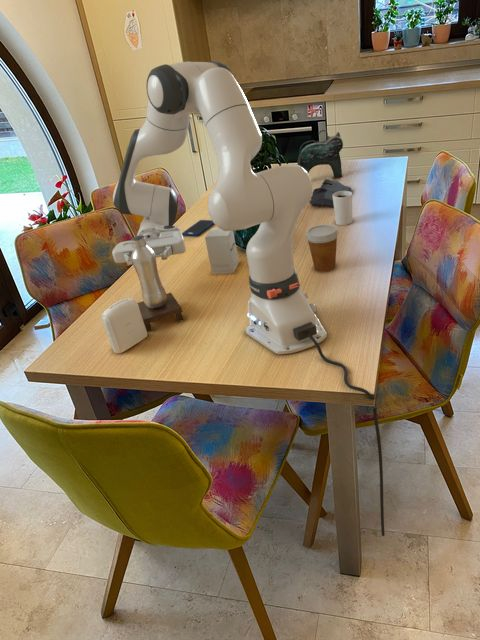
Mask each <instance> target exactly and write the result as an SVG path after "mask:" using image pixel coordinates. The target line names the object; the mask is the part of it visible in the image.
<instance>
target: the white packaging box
mask: <svg viewBox="0 0 480 640" xmlns="http://www.w3.org/2000/svg"><path fill="white" fill-rule="evenodd" d="M204 240H205V244H206V250H207V254H208V259H209V265H210V270H211V274H212V275H226V274H228V275H229V274H234V273H235V271H236V269H237V268H238V265H239V264H240V262H239V256H238V252H237V251H238V250H237V245H236V239H235V233H234V231H223V230H221V229H220V228H218V227H214V228H213V227H212V228H209V231H208V232H207V234H206V236H205V237H204Z"/></svg>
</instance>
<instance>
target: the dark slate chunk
mask: <svg viewBox="0 0 480 640" xmlns="http://www.w3.org/2000/svg"><path fill="white" fill-rule="evenodd" d="M339 191H350V192H352V188H351V186H348V185H344V184H342V182H339V181H338V180H332V179H329V178H325V179H324V180H323V182H322V184H321V185H320V187H317V188H314V189H313V190H312V196H311V199H310V201H309V203H310V205H311V206H312V207H330V208H331V207H333V208H334V204H333V194H334V193H336V192H339Z"/></svg>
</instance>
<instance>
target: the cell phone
mask: <svg viewBox="0 0 480 640" xmlns="http://www.w3.org/2000/svg"><path fill="white" fill-rule="evenodd" d="M214 225H215V224H214V222H213V221H212V219H200V220H198V221H197V222H196V223H194V224H193V225H191V226H189V228H187V229H185V230H184V231H183V232H181V233H182V235H183V237H186V236H187V237H199V236H201V235H202V234H204V233H205V232H206V231H207V230H209V229H211V227H213V226H214Z"/></svg>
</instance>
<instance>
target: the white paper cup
mask: <svg viewBox="0 0 480 640" xmlns="http://www.w3.org/2000/svg"><path fill="white" fill-rule="evenodd" d="M333 204H334V207H333V210H334V219H335V224H336V225H337V226H347V225H350V224H351V223H352V222H353V193H352V191H351V192H350V191H339V192H336V193H334V194H333Z"/></svg>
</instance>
